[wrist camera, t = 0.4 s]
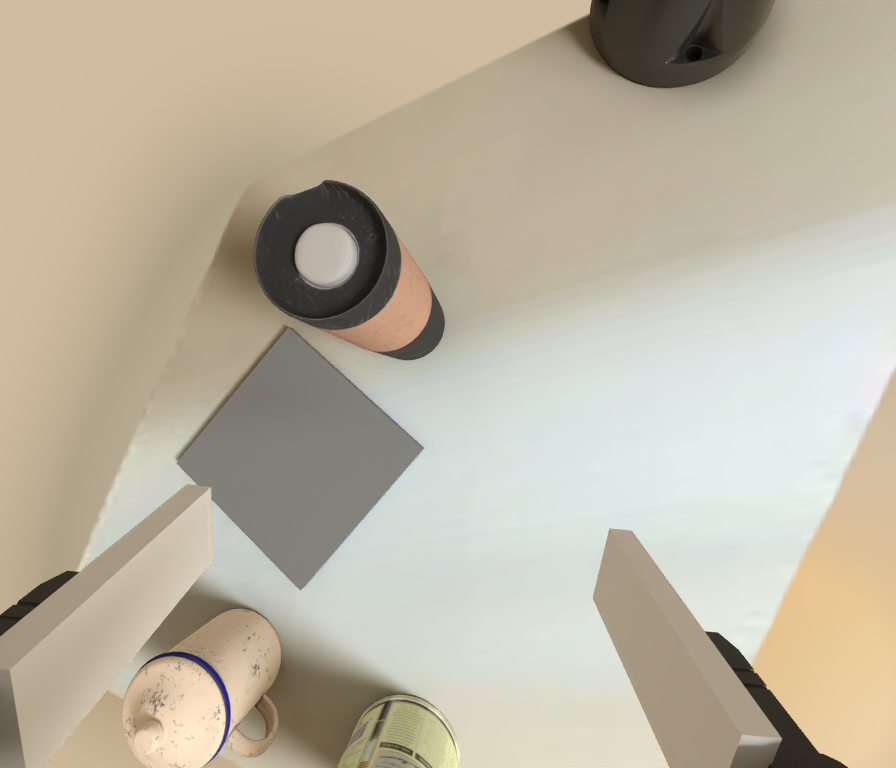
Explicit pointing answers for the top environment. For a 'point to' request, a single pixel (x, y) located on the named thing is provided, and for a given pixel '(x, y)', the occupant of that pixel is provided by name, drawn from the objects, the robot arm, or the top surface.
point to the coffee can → (401, 736)
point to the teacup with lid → (204, 693)
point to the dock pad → (298, 457)
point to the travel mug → (346, 272)
